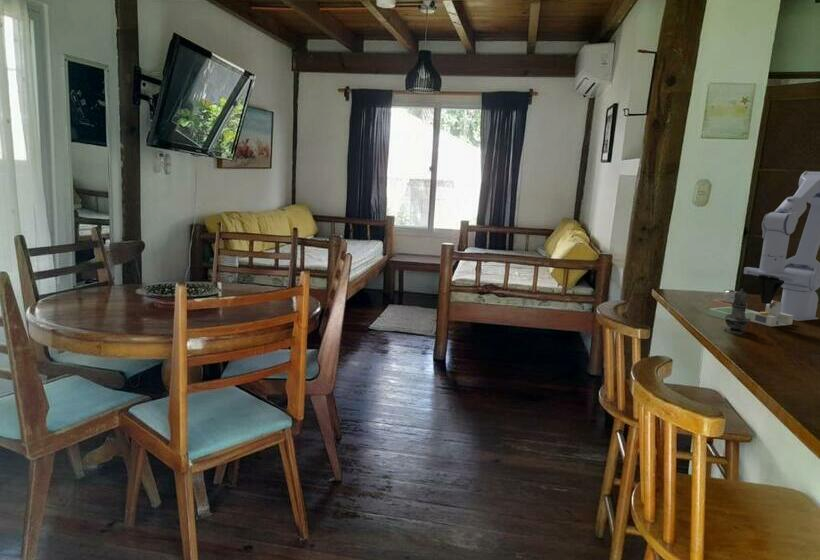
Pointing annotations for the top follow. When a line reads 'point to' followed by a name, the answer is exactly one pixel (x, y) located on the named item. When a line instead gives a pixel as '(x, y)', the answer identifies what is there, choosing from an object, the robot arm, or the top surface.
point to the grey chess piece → (737, 314)
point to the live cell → (774, 309)
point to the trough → (725, 312)
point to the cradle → (771, 319)
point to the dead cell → (729, 296)
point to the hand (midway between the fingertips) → (766, 303)
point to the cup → (720, 304)
